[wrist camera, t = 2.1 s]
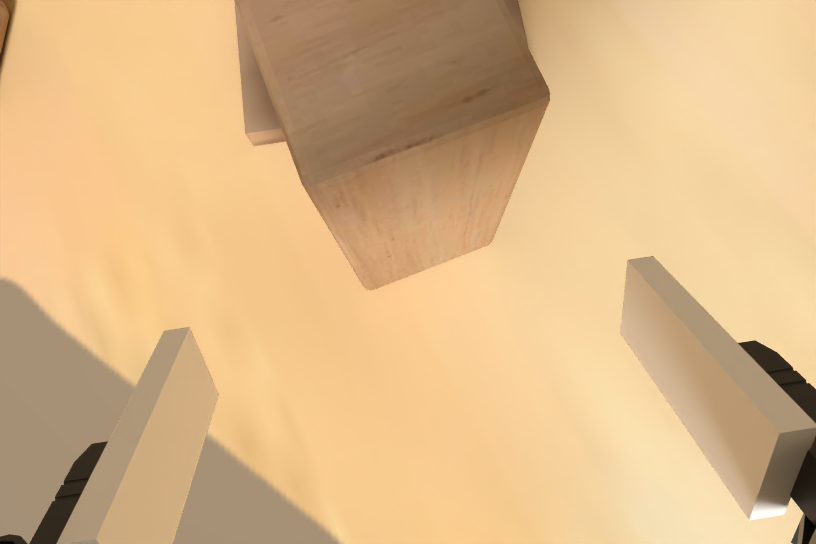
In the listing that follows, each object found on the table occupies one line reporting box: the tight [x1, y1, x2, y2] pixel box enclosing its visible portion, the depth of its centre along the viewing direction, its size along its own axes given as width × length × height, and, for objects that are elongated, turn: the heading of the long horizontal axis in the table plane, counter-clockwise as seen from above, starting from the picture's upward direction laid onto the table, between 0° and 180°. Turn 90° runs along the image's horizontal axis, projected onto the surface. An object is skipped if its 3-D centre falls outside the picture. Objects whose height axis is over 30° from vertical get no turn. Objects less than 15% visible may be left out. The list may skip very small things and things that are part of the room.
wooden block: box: [235, 0, 550, 290], centre depth 30 cm, size 10×10×20 cm
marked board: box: [235, 0, 528, 146], centre depth 43 cm, size 22×18×2 cm
